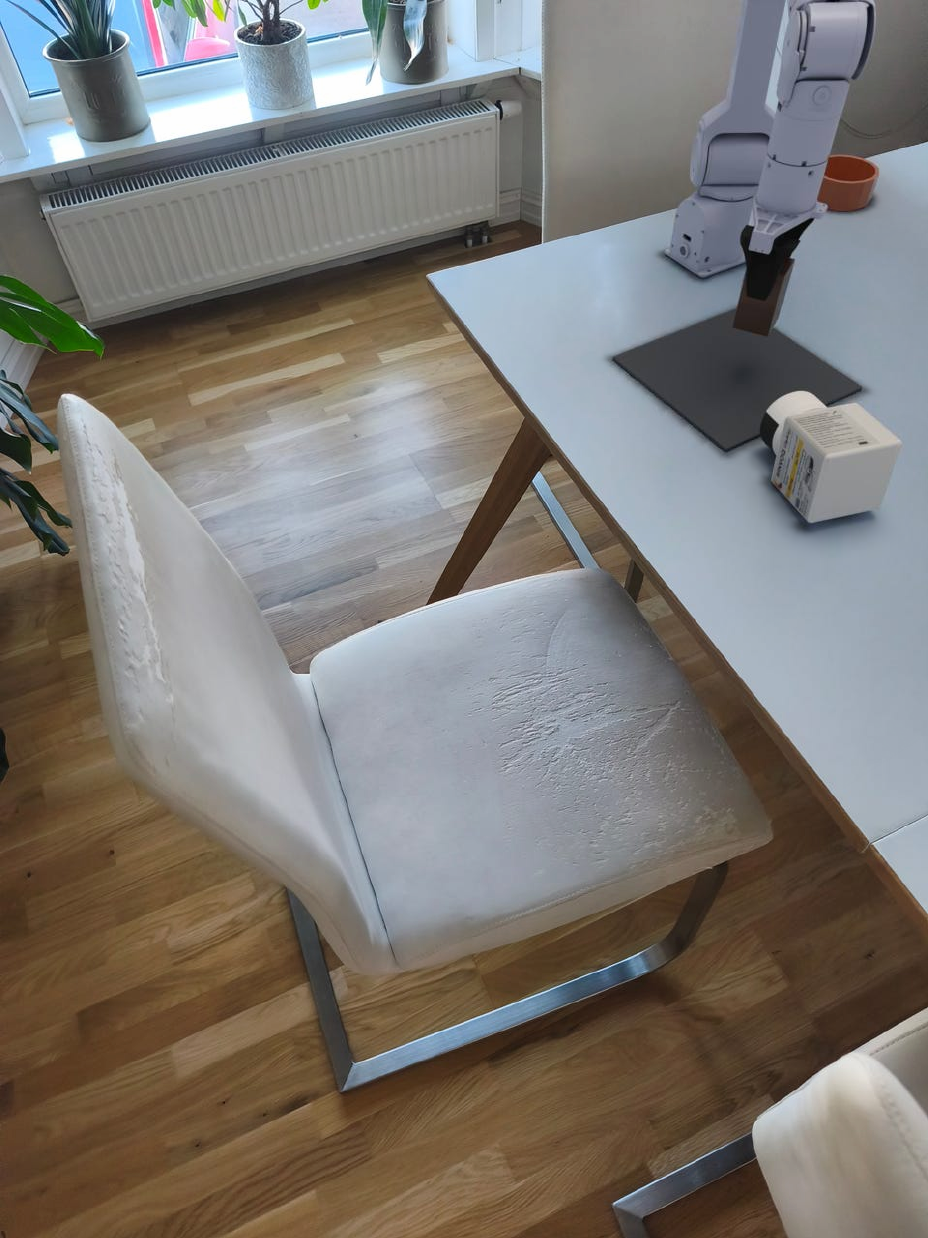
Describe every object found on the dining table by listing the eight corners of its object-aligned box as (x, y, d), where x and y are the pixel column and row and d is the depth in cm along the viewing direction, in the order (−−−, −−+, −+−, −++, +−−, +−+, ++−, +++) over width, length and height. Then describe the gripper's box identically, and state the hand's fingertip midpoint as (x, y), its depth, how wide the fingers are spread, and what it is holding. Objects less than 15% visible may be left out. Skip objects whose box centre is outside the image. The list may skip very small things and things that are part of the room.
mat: (725, 451, 90) (726, 448, 90) (612, 359, 101) (612, 356, 101) (861, 389, 96) (862, 386, 96) (740, 308, 107) (741, 305, 107)
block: (767, 336, 93) (784, 276, 87) (732, 327, 94) (746, 267, 89) (778, 318, 95) (795, 258, 89) (743, 309, 96) (758, 250, 91)
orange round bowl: (837, 217, 121) (846, 188, 118) (791, 192, 126) (799, 164, 123) (883, 200, 124) (893, 171, 121) (836, 176, 129) (844, 149, 126)
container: (808, 525, 82) (744, 454, 91) (881, 509, 83) (811, 441, 92) (827, 457, 76) (757, 388, 85) (905, 441, 77) (827, 375, 86)
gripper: (819, 193, 75) (780, 330, 86) (859, 131, 83) (818, 264, 94) (742, 178, 78) (712, 313, 88) (787, 119, 85) (755, 249, 96)
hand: (763, 287), depth 91 cm, fingers closed on block, 4 cm apart
